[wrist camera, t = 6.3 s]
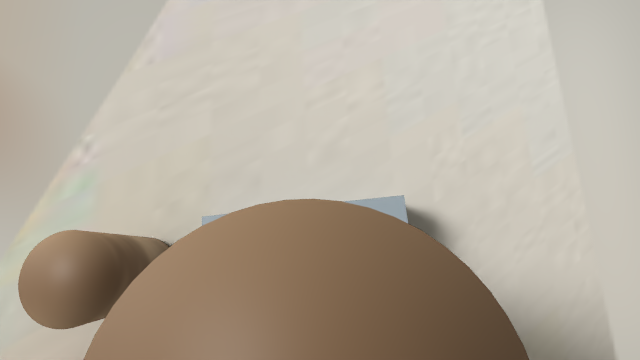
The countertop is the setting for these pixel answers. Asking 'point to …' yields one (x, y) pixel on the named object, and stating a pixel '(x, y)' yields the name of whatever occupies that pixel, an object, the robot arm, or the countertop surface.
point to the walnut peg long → (307, 293)
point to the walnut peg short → (81, 275)
